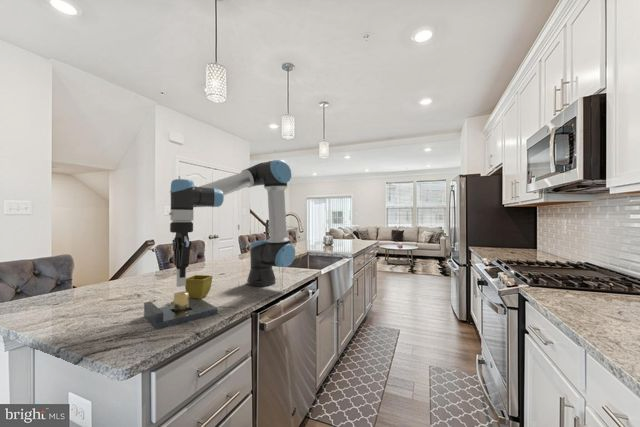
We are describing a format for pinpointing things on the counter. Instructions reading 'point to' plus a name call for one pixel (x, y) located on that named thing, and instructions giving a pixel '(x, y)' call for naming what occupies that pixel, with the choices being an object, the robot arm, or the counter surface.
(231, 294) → the counter surface
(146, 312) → the jig
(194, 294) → the flower pot
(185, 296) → the bushing
